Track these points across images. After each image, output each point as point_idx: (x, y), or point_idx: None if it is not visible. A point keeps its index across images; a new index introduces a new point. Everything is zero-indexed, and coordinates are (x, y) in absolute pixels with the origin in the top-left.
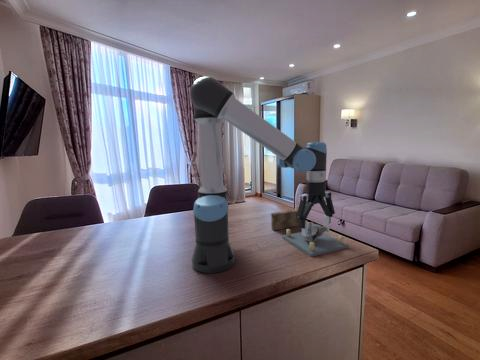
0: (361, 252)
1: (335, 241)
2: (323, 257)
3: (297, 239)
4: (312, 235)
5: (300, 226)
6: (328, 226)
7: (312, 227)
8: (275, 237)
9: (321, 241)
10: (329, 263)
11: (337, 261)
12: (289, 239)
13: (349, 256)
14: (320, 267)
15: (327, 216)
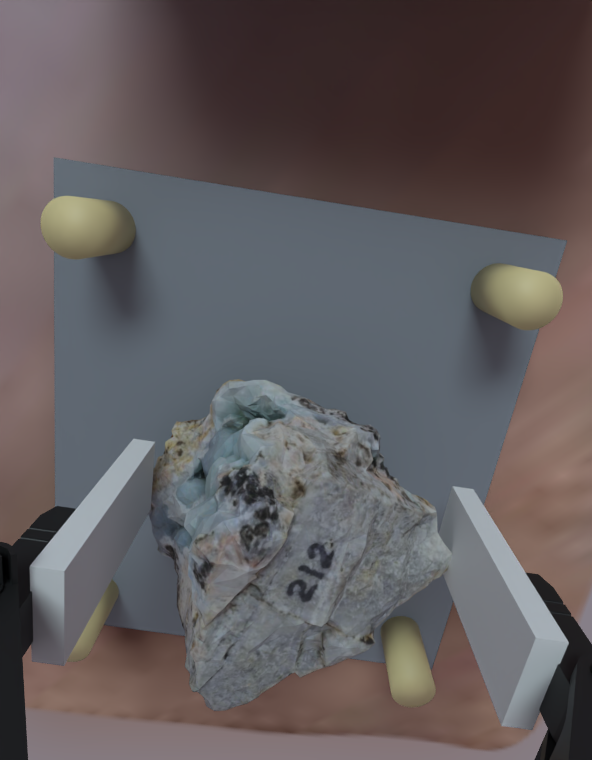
0: (424, 724)
1: None
2: (141, 645)
3: (143, 358)
4: (178, 562)
5: (40, 517)
6: (460, 601)
7: (192, 592)
8: (9, 88)
9: None
10: (114, 706)
11: (179, 715)
12: (64, 310)
13: (303, 716)
14: (29, 707)
15: (530, 700)
